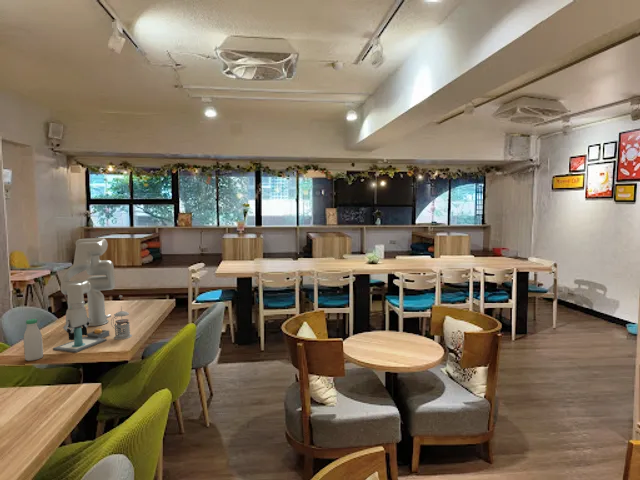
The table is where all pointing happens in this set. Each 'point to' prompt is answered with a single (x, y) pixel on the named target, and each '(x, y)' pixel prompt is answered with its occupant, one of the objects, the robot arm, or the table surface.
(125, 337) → the french press
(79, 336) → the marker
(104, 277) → the robot arm
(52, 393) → the table surface
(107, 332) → the button housing
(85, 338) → the drawing board
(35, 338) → the milk bottle
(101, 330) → the button
